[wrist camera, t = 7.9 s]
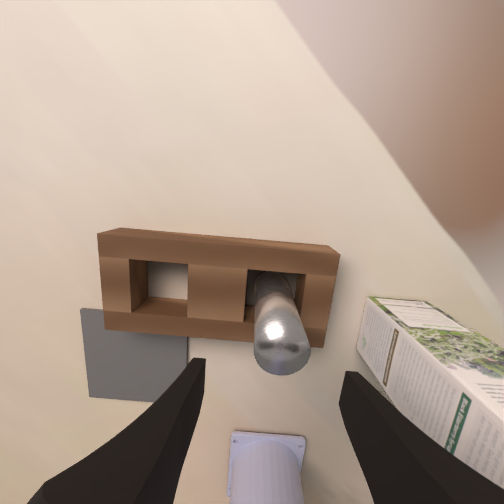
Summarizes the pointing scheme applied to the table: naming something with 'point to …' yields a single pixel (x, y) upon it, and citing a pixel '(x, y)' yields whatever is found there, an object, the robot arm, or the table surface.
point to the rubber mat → (129, 360)
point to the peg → (278, 327)
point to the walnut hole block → (209, 283)
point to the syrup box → (439, 378)
